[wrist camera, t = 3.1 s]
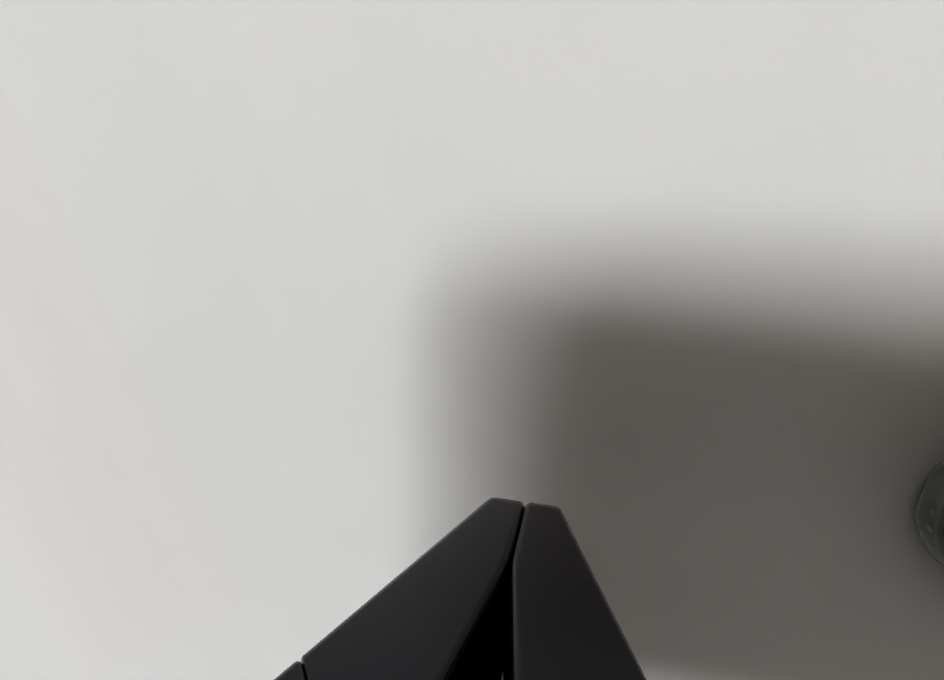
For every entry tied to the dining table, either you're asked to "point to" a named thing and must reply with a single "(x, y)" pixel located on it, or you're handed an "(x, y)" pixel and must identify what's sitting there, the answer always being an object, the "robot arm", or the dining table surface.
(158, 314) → the dining table surface
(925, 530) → the composite cable
